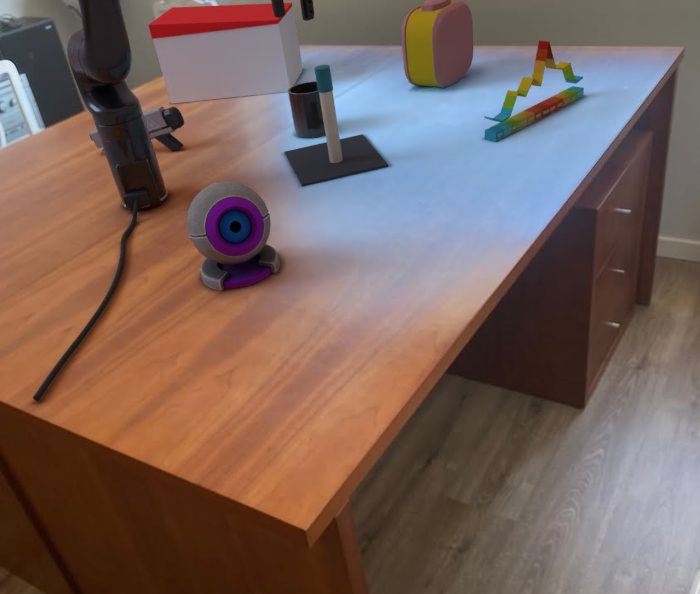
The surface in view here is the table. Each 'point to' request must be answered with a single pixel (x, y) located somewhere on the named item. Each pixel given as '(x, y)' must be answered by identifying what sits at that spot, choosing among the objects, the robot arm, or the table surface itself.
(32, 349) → the table surface
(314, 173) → the desk mat
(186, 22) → the red-lidded white box
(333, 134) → the marker
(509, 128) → the chart
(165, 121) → the gun
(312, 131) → the pen holder
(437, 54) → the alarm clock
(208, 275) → the webcam
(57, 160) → the table surface
